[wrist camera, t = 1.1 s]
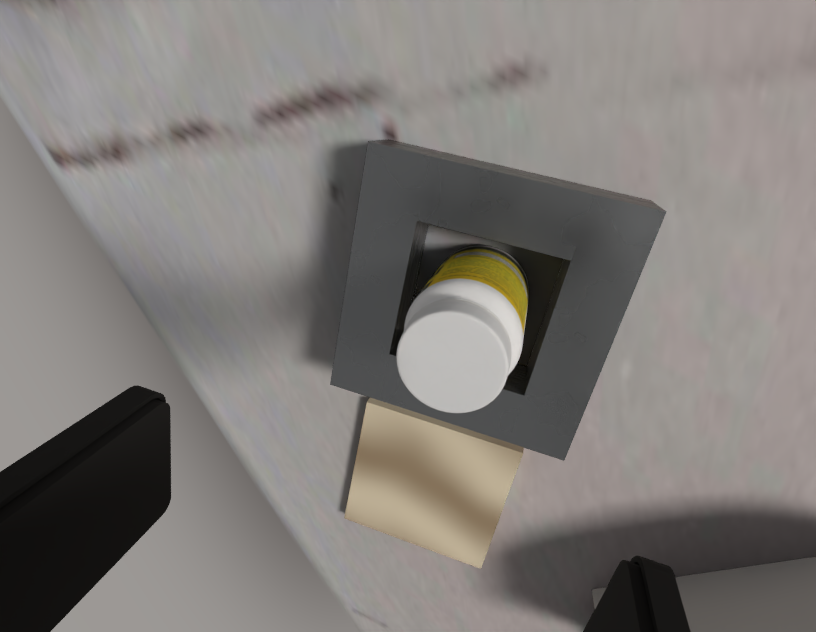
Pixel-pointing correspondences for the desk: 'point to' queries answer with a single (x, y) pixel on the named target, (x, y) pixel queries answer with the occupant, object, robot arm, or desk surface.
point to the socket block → (507, 223)
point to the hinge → (749, 598)
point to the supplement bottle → (465, 330)
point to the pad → (430, 481)
